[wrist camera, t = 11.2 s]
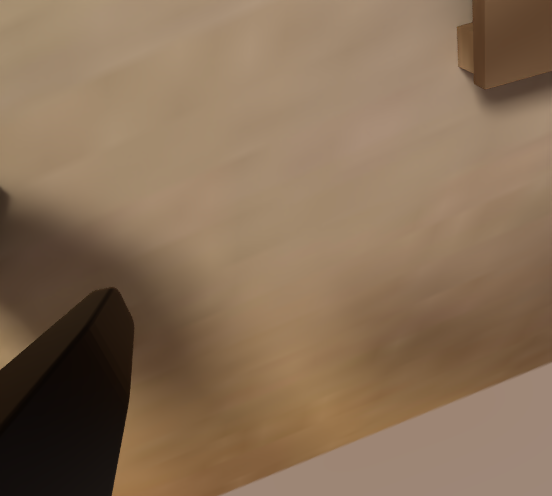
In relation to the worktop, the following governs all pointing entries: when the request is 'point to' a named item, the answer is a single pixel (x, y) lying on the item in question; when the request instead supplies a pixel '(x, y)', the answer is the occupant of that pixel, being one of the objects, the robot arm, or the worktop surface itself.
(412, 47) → the worktop surface
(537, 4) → the wooden pallet
